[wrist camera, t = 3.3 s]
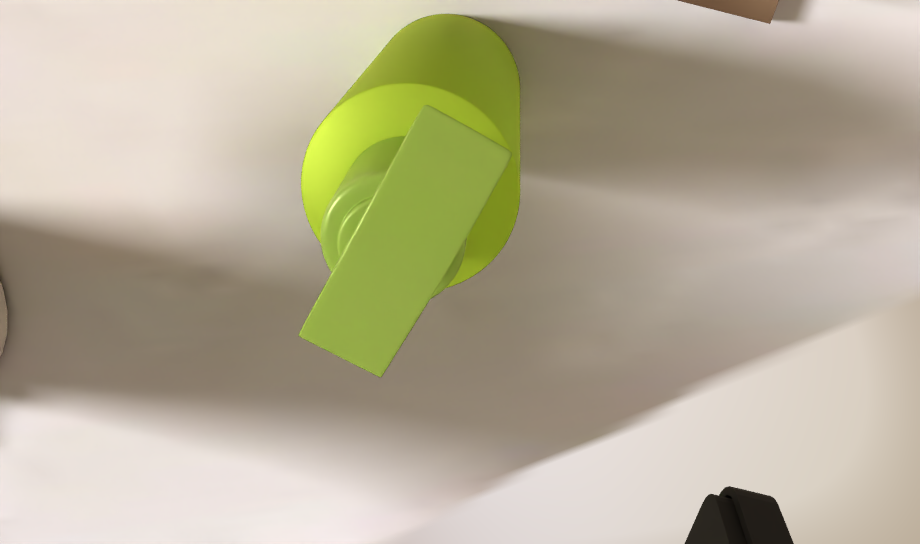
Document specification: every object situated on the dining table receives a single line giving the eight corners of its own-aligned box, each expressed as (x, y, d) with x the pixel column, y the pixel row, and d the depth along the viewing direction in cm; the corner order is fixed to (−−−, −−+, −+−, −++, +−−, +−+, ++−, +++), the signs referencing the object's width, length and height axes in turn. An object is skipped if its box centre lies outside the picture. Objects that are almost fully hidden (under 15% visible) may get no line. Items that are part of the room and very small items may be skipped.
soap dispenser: (561, 37, 34) (609, 214, 16) (474, 183, 36) (430, 480, 18) (429, -40, 33) (318, 51, 15) (350, 115, 36) (174, 354, 17)
